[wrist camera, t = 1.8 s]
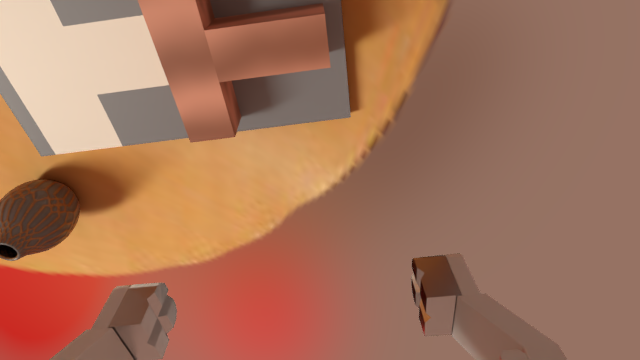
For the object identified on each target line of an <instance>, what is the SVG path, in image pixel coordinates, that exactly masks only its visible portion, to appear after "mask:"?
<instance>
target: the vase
mask: <svg viewBox="0 0 640 360" xmlns="http://www.w3.org/2000/svg"><path fill="white" fill-rule="evenodd" d="M79 214H80V205H79V201H78V199H77V197H76V195H75V194H74V193H73V191H72V190H71V189H70V188H68V187H67V186H66V185H64V184H62V183H59V182H56V181H52V180H33V181H29V182H26V183H23V184H21V185H19V186H17V187H15V188H14V189H12V190H11V191H10V192H8V193H7V194H6V195H5V196H4V197H3V198H2V199H1V200H0V258H2V259H5V260H10V261H14V260H18V259H20V258H22V257H24V256H26V255H31V254H35V253H40V252H43V251H46V250H49V249H51V248H53V247H55V246H56V245H58V244H59V243H61V242H62V241H63V240H64V239H66V238H67V237H68V235H69V234H70V233H71V232H72V230H73V229H74V227H75V225H76V224H77V221H78V218H79Z"/></svg>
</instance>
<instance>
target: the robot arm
mask: <svg viewBox="0 0 640 360" xmlns="http://www.w3.org/2000/svg"><path fill="white" fill-rule="evenodd" d="M412 269H413V273H414V274H413V275H412V276H411V285H412V293H413V298H414V302H415V305H416V306H417V307H418V308H419V320H420V323H421V326H422V330H423V333H424V336H438V335H452V336H453V337H454V339H455V340H457V342H459V344H460V345H461V346H462V347H463V348H464V349H465V350H466V351H467V352H468V353H469V354H470V355H471V356H472V357H473V358H474V359H475V360H567V358H566V357H565V355H564V353H563V352H562V350H561V348H560V347H559V345H558V344H557V343H555V342H554V341H552V340H551V339H550V338H548V337H547V336H545V335H544V334H542V333H541V332H540V331H538V330H537V329H535V328H534V327H533V326H531V325H530V324H528V323H527V322H525V321H524V320H523V319H521V318H520V317H518V316H517V315H516V314H514V313H513V312H511V311H510V310H508V309H507V308H506V307H504V306H503V305H501V304H500V303H498V302H497V301H496V300H494V299H493V298H491V297H490V296H488V295H487V294H481V293H480V291H479V289H478V287H477V285H476V283H475V280H474V278H473V276H472V274H471V272H470V270H469V268H468V266H467V264H466V262H465V259H464V257H463V256H462V255H461V254H460V253H457V254H447V255H437V256H428V257H419V258H413V259H412ZM167 292H168V288H167V287H166V285H165V283H151V284H137V285H126V286H117V287H116V288H115V289H113V291H112V293H111V294H110V296H109V298H108V300H107V302H106V303H105V305H104V307H103V309H102V311H101V312H100V314H99V316H98V318H97V320H96V321H95V323H94V325H93V327H92V329H91V330H86V331H85V332H83V333H82V334H81V335H80V336H78V337H77V338H76V339H75V340H73V341H72V342H71V343H70V344H68V345H67V346H66V347H65V348H64V349H62V350H61V351H60V352H59V353H57V354H56V355H55V356H53V357H52V358H51V359H50V360H158V359H163V356H164V353H165V350H166V347H167V344H168V341H169V339H168V336H167V333H168V332H169V331H170V330H171V329H172V328H173V327H174V324H175V321H176V313H177V309H176V304H175V302H174V300H173V299H172V298H171V297H169V296H168V295H167Z"/></svg>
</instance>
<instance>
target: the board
mask: <svg viewBox="0 0 640 360" xmlns="http://www.w3.org/2000/svg"><path fill="white" fill-rule="evenodd" d="M210 3H211V6H212V10H213V14H214V17H215V18H221V17H228V16H235V15H243V14H250V13H257V12H264V11H271V10H278V9H285V8H292V7H299V6H307V5H314V4H321V3H323V7H324V12H325V20H326V29H327V38H328V47H329V57H330V66H331V68H324V69H316V70H309V71H301V72H294V73H286V74H279V75H271V76H263V77H256V78H248V79H241V80H233V81H232V84H233V88H234V92H235V95H236V99H237V103H238V107H239V110H240V114H241V119H240V123H239V126H238V129H237V132H238V131H246V130H254V129H262V128H269V127H277V126H285V125H293V124H301V123H309V122H317V121H325V120H333V119H341V118H348V117H351V116H350V104H349V92H348V80H347V67H346V55H345V43H344V31H343V19H342V7H341V0H210ZM0 94H1V95H2V97H3V98H4V100H5V102H6V103H7V105H8V106H9V108H10V109H11V111H12V112H13V114H14V115H15V117H16V118H17V120H18V121H19V123H20V124H21V126H22V127H23V129H24V131H25V132H26V134H27V135H28V137H29V138H30V140H31V141H32V143H33V144H34V146H35V147H36V149H37V150H38V152H39V153H40V155H41V156H48V155H56V154H64V153H72V152H80V151H88V150H96V149H104V148H112V147H119V146H127V145H135V144H143V143H151V142H159V141H167V140H175V139H183V138H189V137H188V134H187V132H186V129H185V126H184V124H183V121H182V118H181V116H180V113H179V110H178V108H177V105H176V102H175V99H174V97H173V94H172V91H171V89H170V86H169V83H168V81H167V78H166V75H165V73H164V70H163V67H162V65H161V62H160V59H159V57H158V54H157V51H156V49H155V46H154V43H153V40H152V38H151V35H150V32H149V30H148V27H147V24H146V22H145V19H144V16H143V14H142V11H141V8H140V6H139V3H138V0H0Z"/></svg>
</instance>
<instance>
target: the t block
mask: <svg viewBox="0 0 640 360" xmlns="http://www.w3.org/2000/svg"><path fill="white" fill-rule="evenodd" d="M138 3H139V6H140V8H141V11H142V14H143V16H144V19H145V22H146V24H147V27H148V30H149V32H150V35H151V38H152V40H153V43H154V46H155V49H156V51H157V54H158V57H159V59H160V62H161V65H162V67H163V70H164V73H165V75H166V78H167V81H168V83H169V86H170V89H171V91H172V94H173V97H174V99H175V102H176V105H177V108H178V110H179V113H180V116H181V118H182V121H183V124H184V126H185V129H186V132H187V134H188V137H189V140H190V142H199V141H206V140H214V139H222V138H230V137H235V135H236V132H237V129H238V126H239V123H240V119H241V114H240V110H239V107H238V103H237V99H236V95H235V92H234V88H233V84H232V81H233V80H241V79H248V78H256V77H263V76H271V75H279V74H286V73H294V72H301V71H309V70H316V69H324V68H331V66H330V57H329V47H328V38H327V29H326V20H325V12H324V7H323V3H321V4H314V5H307V6H299V7H292V8H285V9H278V10H271V11H264V12H257V13H250V14H243V15H235V16H228V17H221V18H215V17H214V14H213V10H212V6H211V3H210V0H138Z"/></svg>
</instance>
